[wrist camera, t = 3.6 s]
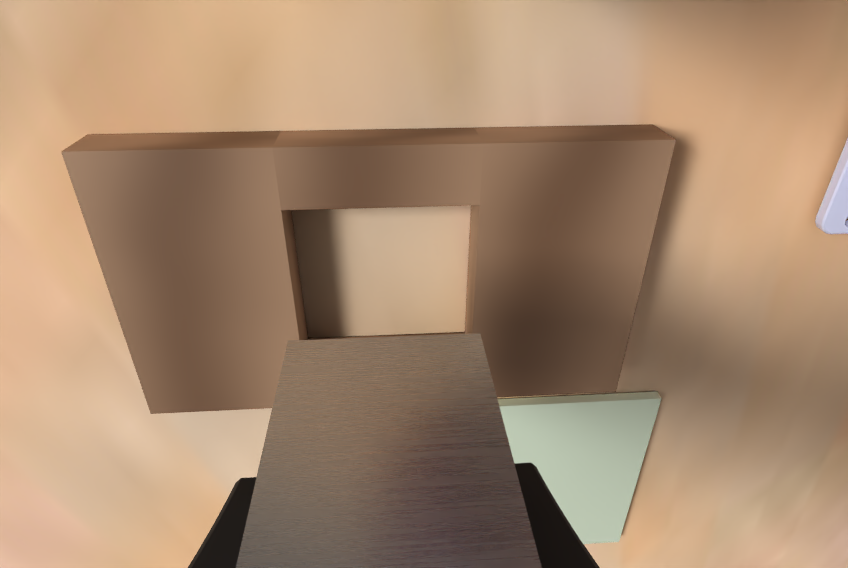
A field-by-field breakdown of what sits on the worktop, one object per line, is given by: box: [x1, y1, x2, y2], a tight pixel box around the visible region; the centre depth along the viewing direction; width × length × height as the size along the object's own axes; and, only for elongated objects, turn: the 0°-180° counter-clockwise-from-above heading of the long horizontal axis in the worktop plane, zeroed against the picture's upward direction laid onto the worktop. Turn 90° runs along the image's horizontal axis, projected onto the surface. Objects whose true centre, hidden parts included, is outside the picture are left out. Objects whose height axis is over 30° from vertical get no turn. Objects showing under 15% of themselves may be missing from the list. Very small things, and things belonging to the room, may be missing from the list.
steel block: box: [236, 333, 542, 568], centre depth 10 cm, size 4×4×7 cm
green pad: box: [498, 391, 662, 544], centre depth 24 cm, size 9×9×1 cm
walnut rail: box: [62, 125, 676, 414], centre depth 18 cm, size 16×9×2 cm, turn 90°
